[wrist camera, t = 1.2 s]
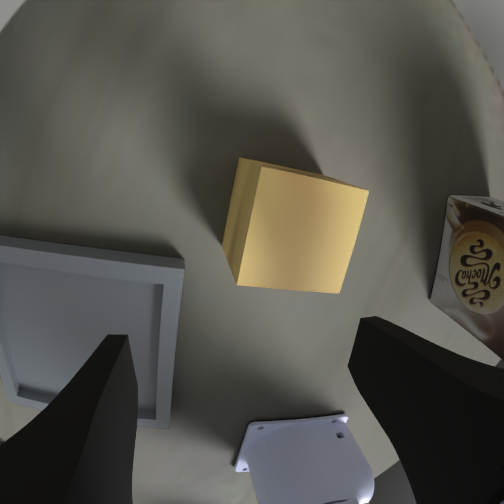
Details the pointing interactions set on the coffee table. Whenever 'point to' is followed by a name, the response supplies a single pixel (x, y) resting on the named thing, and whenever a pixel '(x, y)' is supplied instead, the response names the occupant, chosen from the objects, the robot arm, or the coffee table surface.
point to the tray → (86, 319)
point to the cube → (291, 227)
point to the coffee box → (473, 268)
